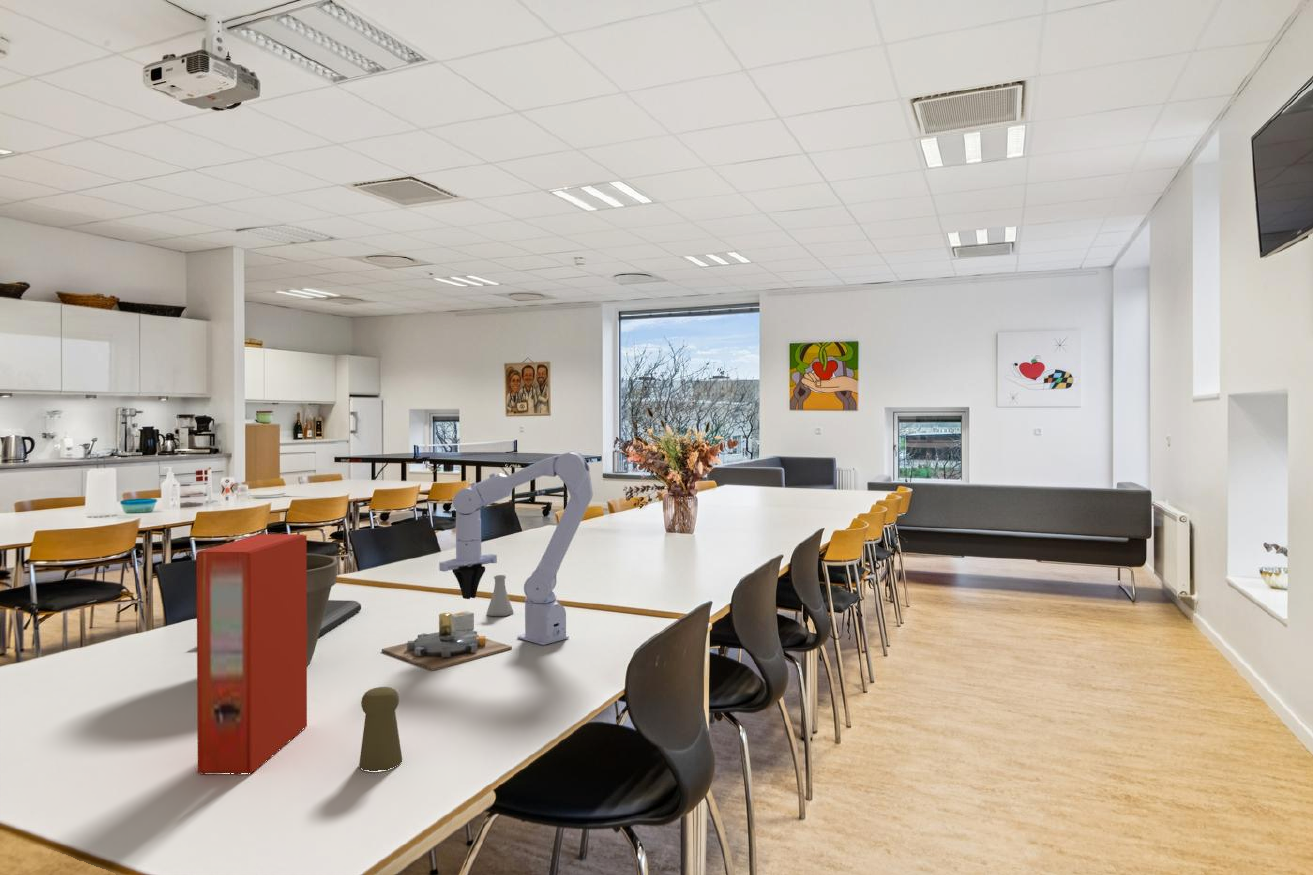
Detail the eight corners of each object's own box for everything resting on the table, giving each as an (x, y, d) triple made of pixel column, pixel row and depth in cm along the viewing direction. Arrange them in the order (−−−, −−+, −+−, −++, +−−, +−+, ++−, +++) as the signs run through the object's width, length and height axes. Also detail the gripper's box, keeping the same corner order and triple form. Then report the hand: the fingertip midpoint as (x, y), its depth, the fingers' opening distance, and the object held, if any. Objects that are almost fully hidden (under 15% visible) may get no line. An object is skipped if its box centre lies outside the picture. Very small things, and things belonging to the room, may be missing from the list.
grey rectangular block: (473, 629, 190) (473, 612, 190) (456, 633, 186) (456, 616, 186) (466, 627, 192) (466, 610, 192) (449, 631, 188) (448, 614, 188)
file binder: (308, 727, 129) (306, 534, 128) (253, 774, 112) (250, 551, 111) (260, 727, 129) (257, 534, 128) (197, 774, 112) (194, 551, 111)
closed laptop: (270, 598, 208) (361, 599, 208) (270, 613, 208) (361, 615, 208) (197, 631, 175) (305, 633, 175) (197, 650, 175) (305, 651, 175)
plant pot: (364, 660, 165) (363, 558, 165) (253, 695, 144) (251, 578, 144) (290, 643, 178) (289, 548, 178) (178, 673, 157) (177, 566, 156)
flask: (517, 610, 208) (517, 573, 208) (509, 617, 201) (509, 578, 201) (490, 610, 209) (490, 573, 209) (482, 617, 202) (481, 578, 202)
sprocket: (501, 645, 173) (500, 618, 173) (435, 662, 160) (434, 634, 160) (457, 631, 184) (457, 607, 184) (392, 647, 172) (392, 620, 171)
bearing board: (511, 649, 173) (511, 646, 173) (432, 670, 158) (432, 667, 158) (459, 633, 186) (459, 630, 186) (381, 651, 171) (381, 648, 171)
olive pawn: (407, 754, 118) (406, 682, 118) (395, 772, 112) (394, 696, 112) (367, 755, 118) (366, 682, 118) (352, 773, 112) (352, 696, 112)
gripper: (484, 534, 190) (484, 590, 190) (431, 541, 179) (432, 600, 179) (502, 537, 185) (502, 594, 185) (449, 544, 174) (449, 605, 174)
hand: (469, 597), depth 182 cm, fingers closed
